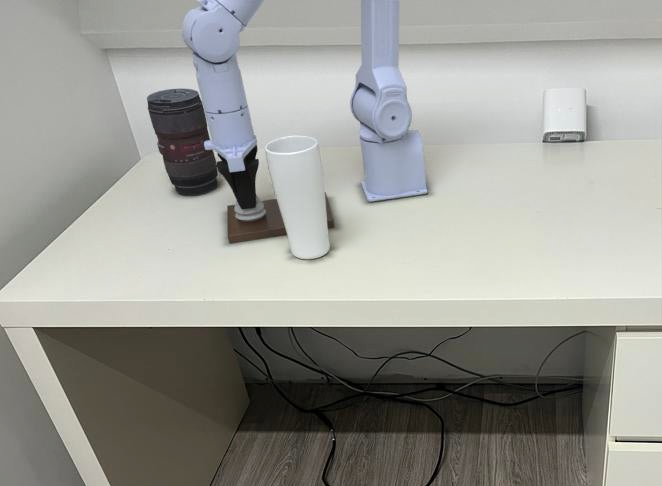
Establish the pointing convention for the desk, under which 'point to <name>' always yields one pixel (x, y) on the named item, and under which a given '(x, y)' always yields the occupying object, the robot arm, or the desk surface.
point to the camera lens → (183, 140)
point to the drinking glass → (300, 193)
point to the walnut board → (263, 223)
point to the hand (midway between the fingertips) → (248, 202)
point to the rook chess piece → (250, 212)
